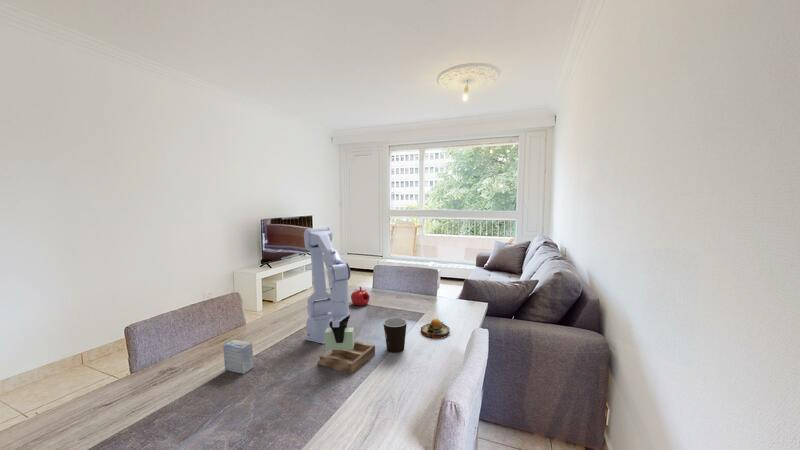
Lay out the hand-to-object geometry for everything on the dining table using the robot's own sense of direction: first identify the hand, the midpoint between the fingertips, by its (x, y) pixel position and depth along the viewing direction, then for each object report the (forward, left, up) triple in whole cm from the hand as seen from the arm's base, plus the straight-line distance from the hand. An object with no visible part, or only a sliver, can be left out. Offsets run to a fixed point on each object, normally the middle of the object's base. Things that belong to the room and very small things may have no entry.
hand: (340, 339), depth 101 cm
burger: (+20, +36, -9) cm, 43 cm away
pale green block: (0, 0, -3) cm, 3 cm away
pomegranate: (-28, +53, -8) cm, 60 cm away
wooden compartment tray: (0, +3, -8) cm, 9 cm away
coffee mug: (+11, +18, -8) cm, 23 cm away
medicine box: (-29, -17, -8) cm, 34 cm away
